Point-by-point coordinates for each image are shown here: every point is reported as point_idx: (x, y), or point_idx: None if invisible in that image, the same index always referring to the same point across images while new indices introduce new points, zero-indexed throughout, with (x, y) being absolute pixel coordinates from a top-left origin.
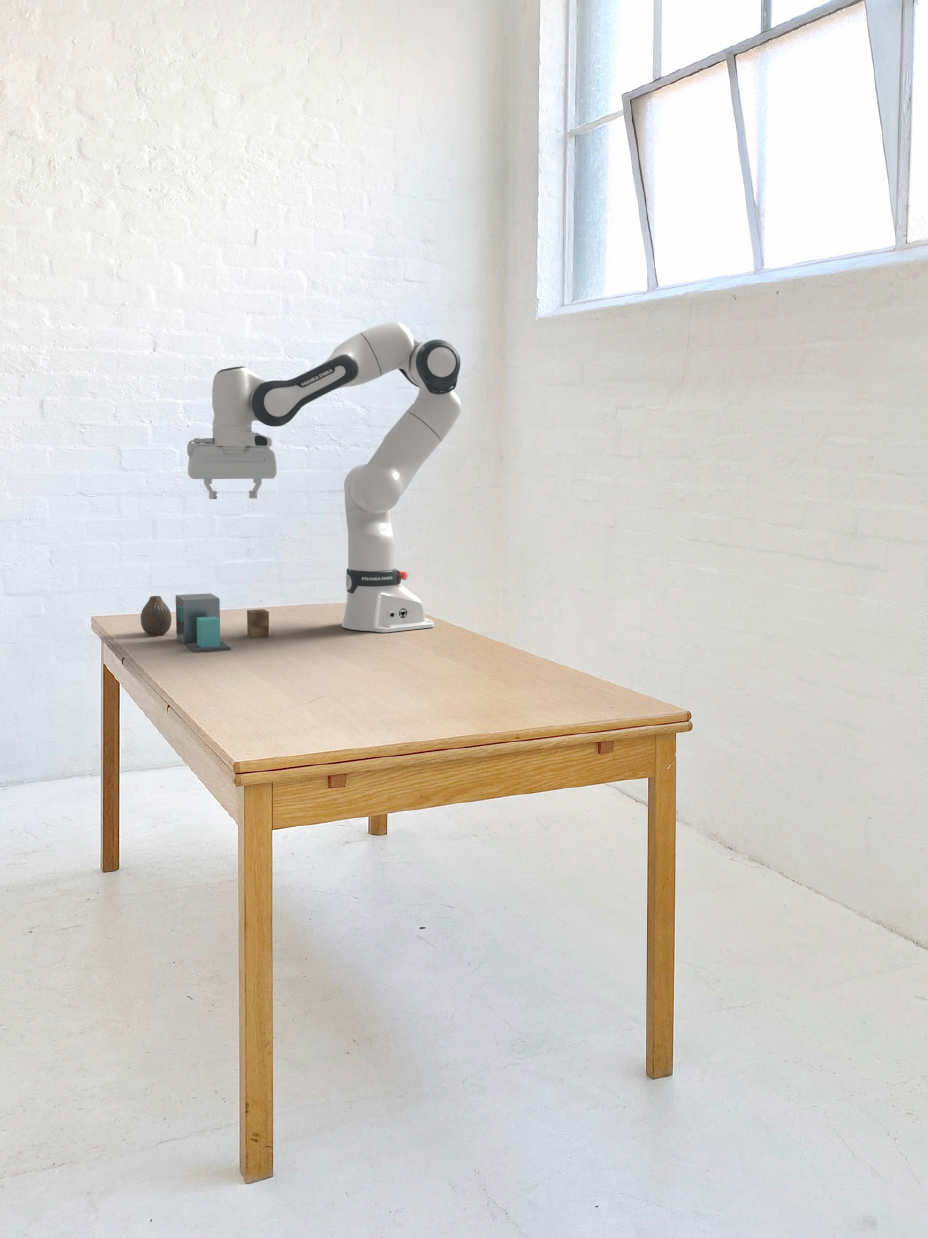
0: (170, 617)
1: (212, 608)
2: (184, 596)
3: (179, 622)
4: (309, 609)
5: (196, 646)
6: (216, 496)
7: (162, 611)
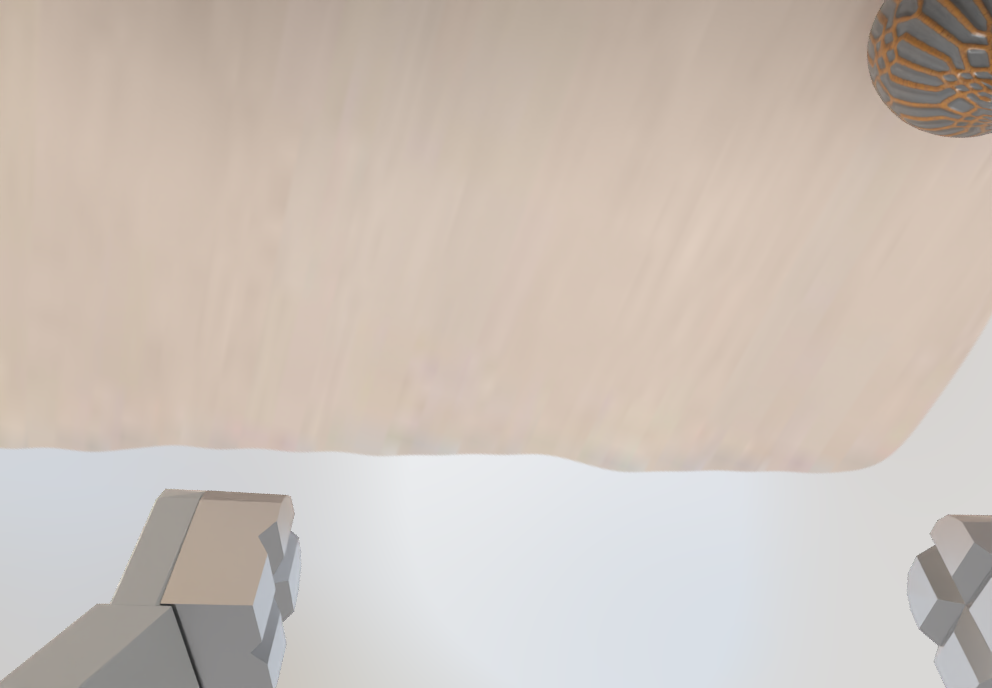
0: (911, 4)
1: None
2: None
3: None
4: (71, 366)
5: None
6: (982, 536)
7: None
